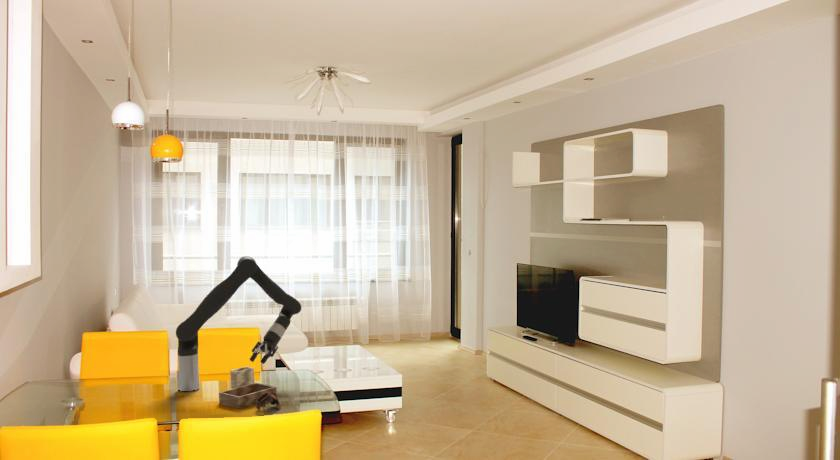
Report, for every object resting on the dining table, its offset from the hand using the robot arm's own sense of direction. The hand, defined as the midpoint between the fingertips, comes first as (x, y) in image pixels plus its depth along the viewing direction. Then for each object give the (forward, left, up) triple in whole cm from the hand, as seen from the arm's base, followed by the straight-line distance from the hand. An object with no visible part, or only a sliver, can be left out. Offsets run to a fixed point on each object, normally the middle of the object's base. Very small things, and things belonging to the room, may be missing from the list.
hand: (256, 361), depth 312 cm
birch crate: (-3, -8, -13) cm, 15 cm away
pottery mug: (+22, -31, -13) cm, 40 cm away
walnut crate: (+7, -21, -13) cm, 25 cm away
